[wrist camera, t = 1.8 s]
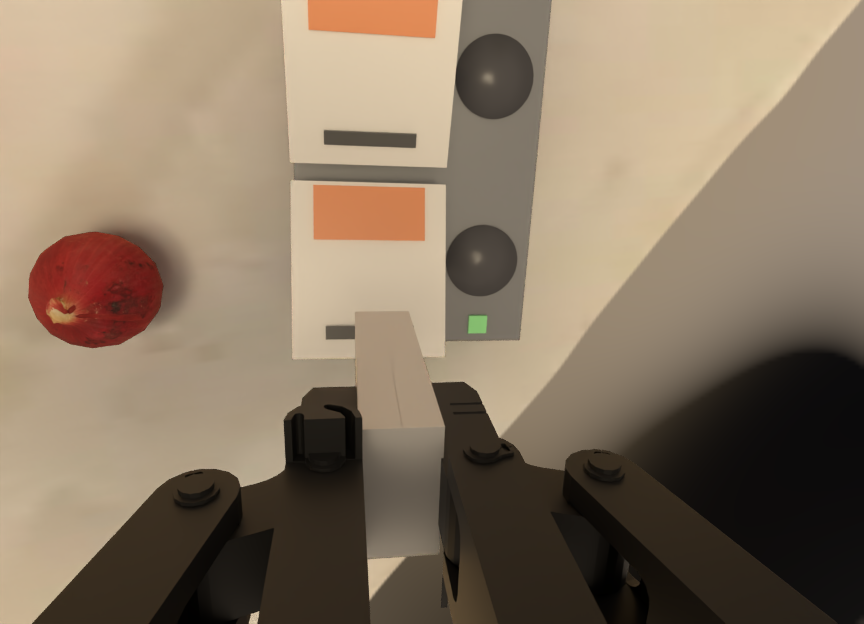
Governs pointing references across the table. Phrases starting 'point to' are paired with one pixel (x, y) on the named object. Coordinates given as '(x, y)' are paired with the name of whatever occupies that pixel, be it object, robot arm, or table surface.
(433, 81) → the rocker
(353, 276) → the panel
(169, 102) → the table surface
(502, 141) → the power strip
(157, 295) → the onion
